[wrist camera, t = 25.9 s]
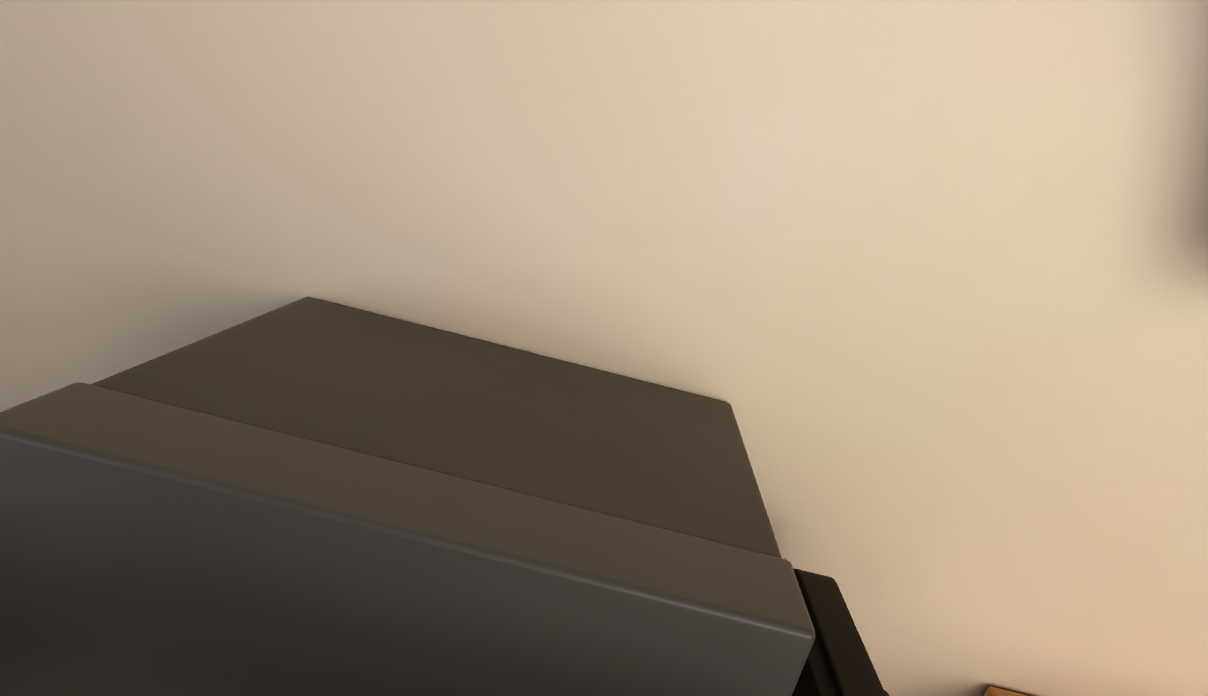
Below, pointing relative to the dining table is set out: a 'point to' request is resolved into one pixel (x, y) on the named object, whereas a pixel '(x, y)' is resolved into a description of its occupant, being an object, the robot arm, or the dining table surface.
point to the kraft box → (1000, 692)
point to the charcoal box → (385, 526)
